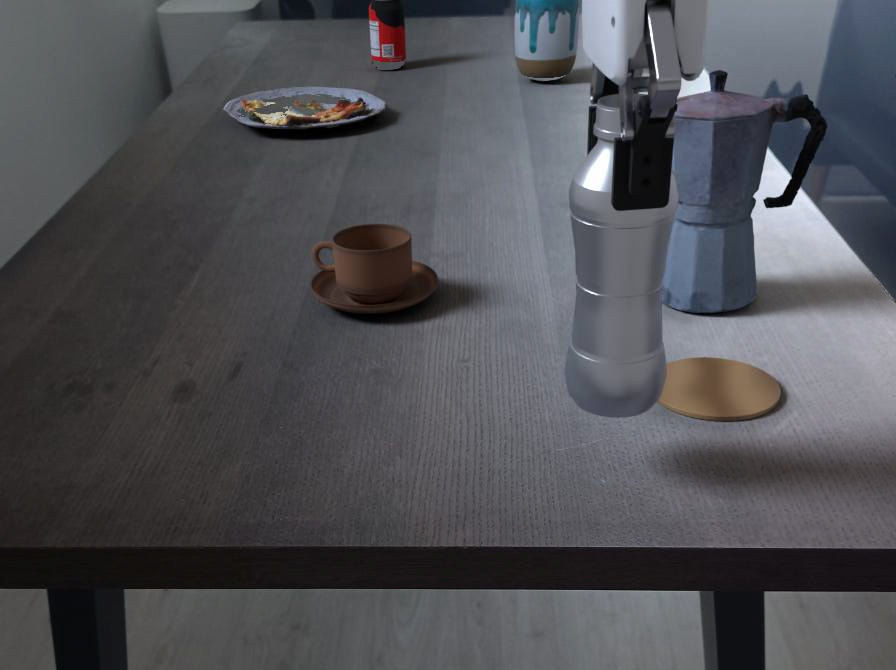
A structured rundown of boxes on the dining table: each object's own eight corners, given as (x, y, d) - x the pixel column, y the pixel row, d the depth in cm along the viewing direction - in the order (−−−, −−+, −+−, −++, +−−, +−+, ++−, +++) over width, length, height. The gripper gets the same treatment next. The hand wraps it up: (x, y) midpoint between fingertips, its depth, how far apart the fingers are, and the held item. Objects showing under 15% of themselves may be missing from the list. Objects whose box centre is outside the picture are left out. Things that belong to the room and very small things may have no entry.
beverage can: (406, 71, 187) (403, -2, 181) (371, 72, 187) (367, 0, 181) (406, 64, 193) (403, -7, 186) (372, 65, 193) (368, -6, 186)
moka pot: (626, 274, 102) (643, 58, 91) (790, 281, 99) (828, 59, 88) (622, 313, 94) (640, 82, 83) (801, 322, 91) (843, 83, 80)
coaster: (755, 358, 85) (756, 353, 85) (799, 417, 77) (800, 412, 77) (635, 365, 85) (635, 360, 85) (666, 425, 77) (667, 420, 77)
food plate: (409, 126, 154) (408, 101, 152) (260, 150, 146) (257, 124, 144) (344, 94, 173) (343, 72, 171) (209, 114, 165) (206, 91, 163)
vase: (537, 90, 170) (540, -39, 160) (501, 79, 178) (502, -45, 168) (589, 81, 175) (595, -46, 164) (552, 71, 182) (556, -51, 172)
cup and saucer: (307, 327, 94) (301, 262, 91) (317, 277, 104) (312, 217, 101) (439, 322, 94) (437, 257, 90) (437, 273, 104) (435, 213, 101)
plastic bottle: (649, 437, 67) (675, 118, 56) (549, 419, 69) (555, 111, 58) (674, 392, 71) (702, 90, 60) (579, 376, 74) (590, 84, 63)
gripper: (778, -164, 45) (732, 234, 55) (673, -171, 60) (651, 145, 69) (607, -153, 45) (591, 244, 55) (544, -162, 60) (540, 152, 69)
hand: (625, 185), depth 62 cm, fingers closed on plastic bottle, 6 cm apart
